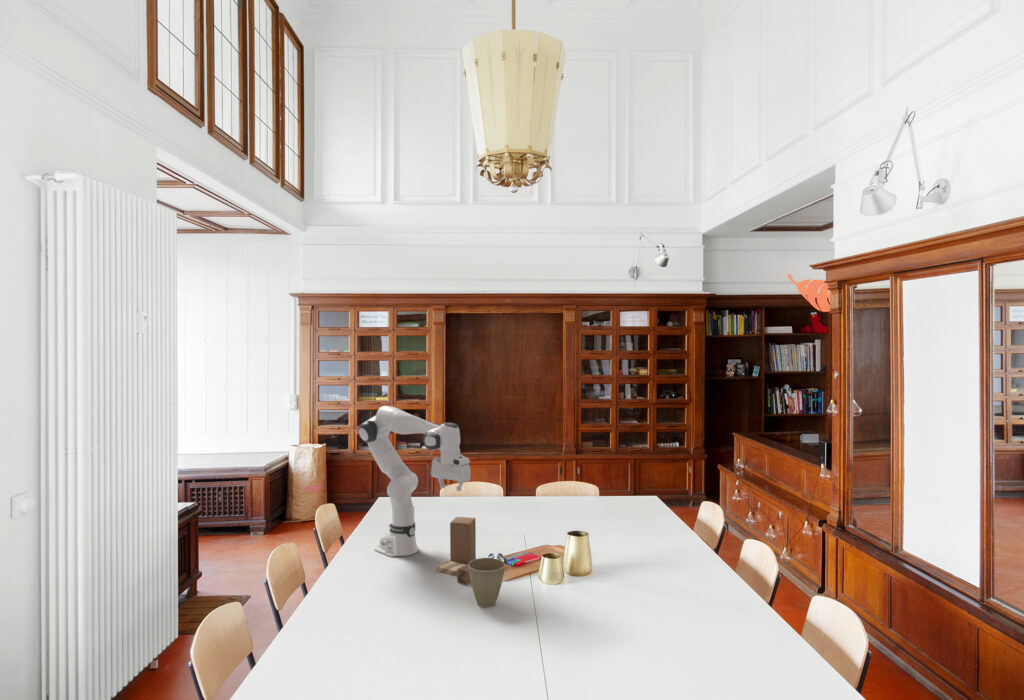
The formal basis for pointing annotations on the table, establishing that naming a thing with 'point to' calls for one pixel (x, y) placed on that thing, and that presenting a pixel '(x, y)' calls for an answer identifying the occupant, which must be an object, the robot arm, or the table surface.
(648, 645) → the table surface
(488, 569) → the plant pot
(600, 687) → the table surface
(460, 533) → the wooden block
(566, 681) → the table surface
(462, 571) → the block
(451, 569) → the board
